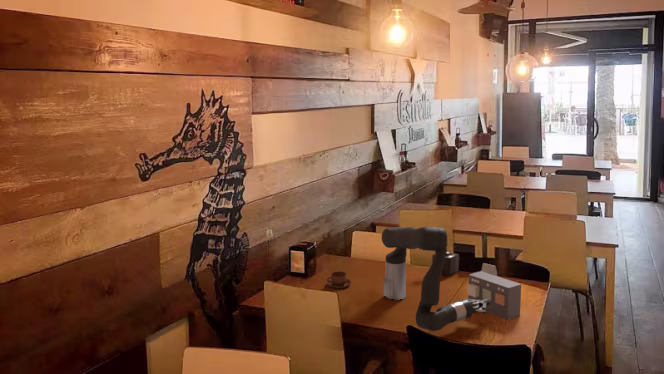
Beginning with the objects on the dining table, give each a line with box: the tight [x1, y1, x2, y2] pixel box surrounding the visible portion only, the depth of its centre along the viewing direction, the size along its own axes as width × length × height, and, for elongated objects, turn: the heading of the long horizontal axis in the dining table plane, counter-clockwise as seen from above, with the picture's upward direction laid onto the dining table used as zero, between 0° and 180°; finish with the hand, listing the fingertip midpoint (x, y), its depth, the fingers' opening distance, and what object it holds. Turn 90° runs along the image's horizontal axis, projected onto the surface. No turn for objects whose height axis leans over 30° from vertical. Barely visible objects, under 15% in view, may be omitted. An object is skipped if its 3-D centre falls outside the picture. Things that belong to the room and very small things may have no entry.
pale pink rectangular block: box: [480, 262, 498, 276], centre depth 294 cm, size 4×7×10 cm, turn 47°
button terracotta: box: [495, 292, 506, 306], centre depth 253 cm, size 4×4×4 cm
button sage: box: [483, 288, 492, 301], centre depth 259 cm, size 4×4×4 cm
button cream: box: [467, 283, 480, 297], centre depth 263 cm, size 4×4×4 cm
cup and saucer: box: [326, 271, 352, 289], centre depth 295 cm, size 12×12×6 cm
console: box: [467, 270, 522, 321], centre depth 260 cm, size 22×8×14 cm, turn 35°
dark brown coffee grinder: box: [431, 246, 460, 276], centre depth 311 cm, size 16×11×18 cm
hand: (488, 301), depth 250 cm, fingers closed
